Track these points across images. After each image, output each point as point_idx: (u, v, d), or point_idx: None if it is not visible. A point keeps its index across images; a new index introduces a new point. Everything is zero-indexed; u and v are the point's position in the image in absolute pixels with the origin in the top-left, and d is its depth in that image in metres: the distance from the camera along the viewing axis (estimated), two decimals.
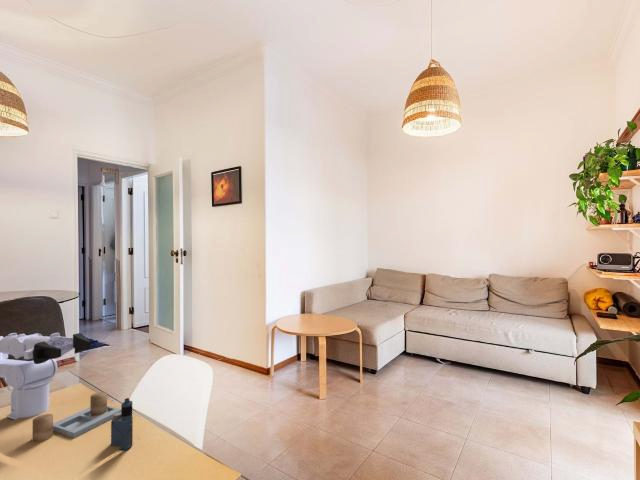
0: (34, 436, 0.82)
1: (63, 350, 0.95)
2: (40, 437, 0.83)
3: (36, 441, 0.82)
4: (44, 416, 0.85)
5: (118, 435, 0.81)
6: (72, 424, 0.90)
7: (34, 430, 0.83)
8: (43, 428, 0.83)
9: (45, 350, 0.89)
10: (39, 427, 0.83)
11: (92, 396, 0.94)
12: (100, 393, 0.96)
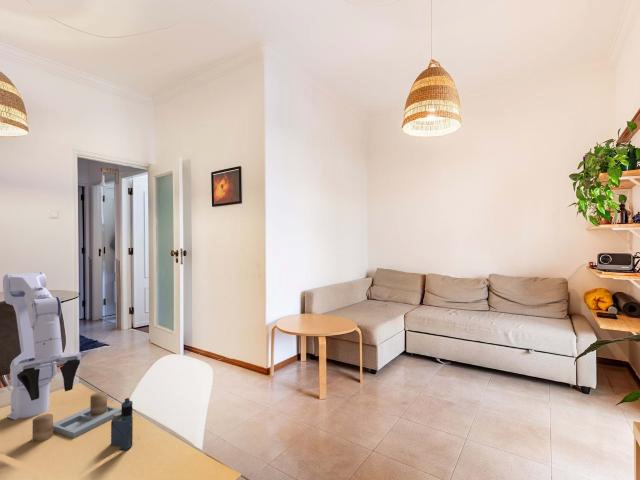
0: (34, 436, 0.82)
1: (54, 361, 0.89)
2: (40, 437, 0.83)
3: (36, 441, 0.82)
4: (44, 416, 0.85)
5: (118, 435, 0.81)
6: (72, 424, 0.90)
7: (34, 430, 0.83)
8: (43, 428, 0.83)
9: None
10: (39, 427, 0.83)
11: (92, 396, 0.94)
12: (100, 393, 0.96)
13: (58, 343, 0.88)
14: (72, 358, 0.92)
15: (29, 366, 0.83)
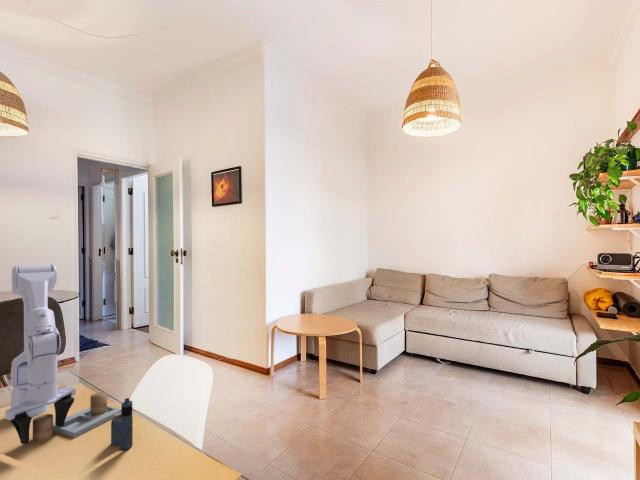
0: (34, 436, 0.82)
1: None
2: (40, 437, 0.83)
3: (36, 441, 0.82)
4: (44, 416, 0.85)
5: (118, 435, 0.81)
6: (72, 424, 0.90)
7: (34, 430, 0.83)
8: (43, 428, 0.83)
9: None
10: (39, 427, 0.83)
11: (92, 396, 0.94)
12: (100, 393, 0.96)
13: (53, 385, 0.84)
14: None
15: None
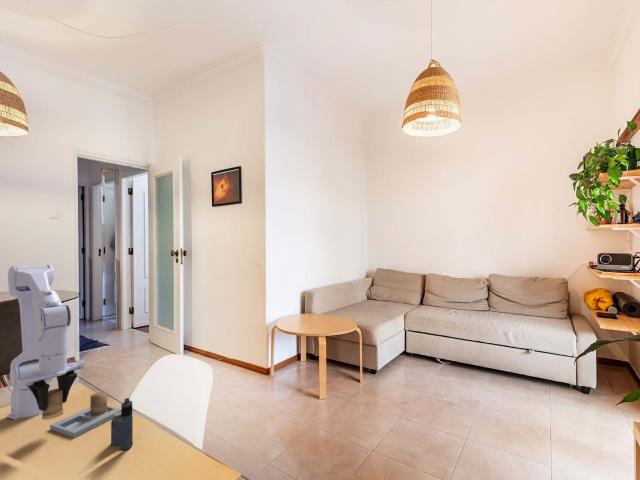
0: None
1: None
2: (50, 410, 0.84)
3: (46, 414, 0.84)
4: (54, 390, 0.87)
5: (118, 435, 0.81)
6: (72, 424, 0.90)
7: None
8: (53, 401, 0.84)
9: None
10: (49, 400, 0.84)
11: (92, 396, 0.94)
12: (100, 393, 0.96)
13: (63, 357, 0.86)
14: (76, 367, 0.91)
15: (32, 381, 0.82)
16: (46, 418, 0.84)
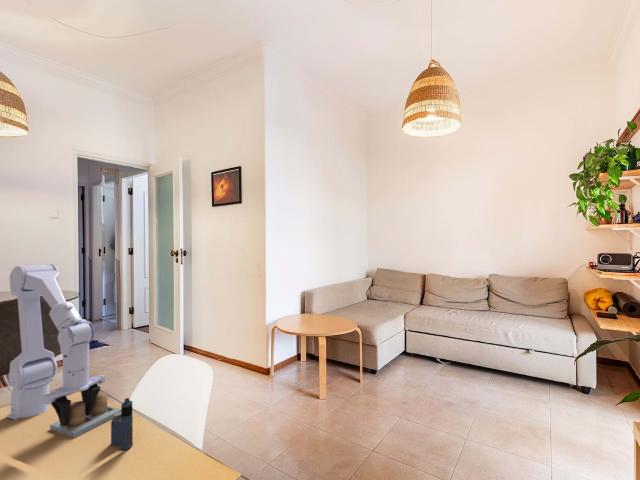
0: (69, 421, 0.87)
1: None
2: (74, 422, 0.88)
3: (70, 426, 0.87)
4: (77, 403, 0.90)
5: (118, 435, 0.81)
6: None
7: (69, 416, 0.87)
8: (77, 414, 0.88)
9: None
10: (73, 413, 0.88)
11: None
12: (101, 393, 0.96)
13: (86, 373, 0.89)
14: (96, 381, 0.94)
15: None
16: None
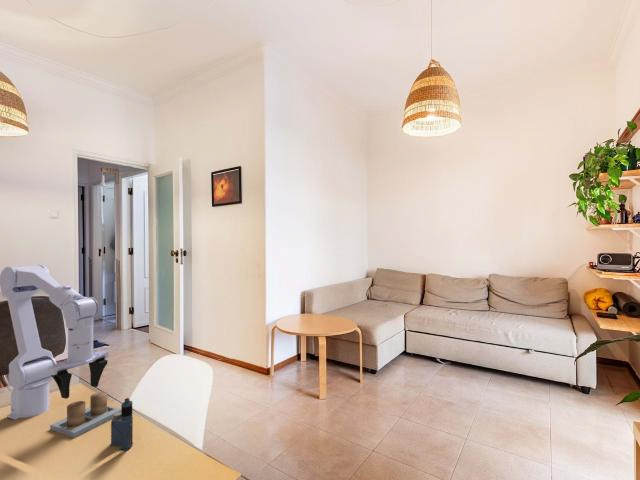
0: (69, 421, 0.87)
1: None
2: (74, 422, 0.88)
3: (70, 426, 0.87)
4: (77, 403, 0.90)
5: (118, 435, 0.81)
6: None
7: (69, 416, 0.87)
8: (77, 414, 0.88)
9: None
10: (73, 413, 0.88)
11: (92, 396, 0.94)
12: (100, 393, 0.96)
13: (90, 347, 0.92)
14: (100, 356, 0.97)
15: (62, 368, 0.87)
16: None
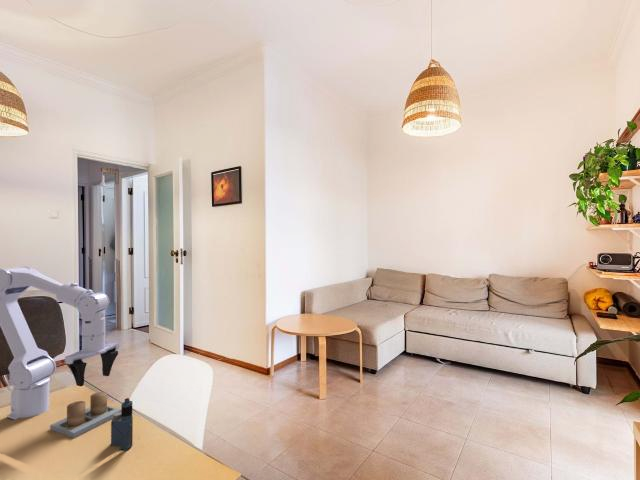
0: (69, 421, 0.87)
1: None
2: (74, 422, 0.88)
3: (70, 426, 0.87)
4: (77, 403, 0.90)
5: (118, 435, 0.81)
6: None
7: (69, 416, 0.87)
8: (77, 414, 0.88)
9: None
10: (73, 413, 0.88)
11: (92, 396, 0.94)
12: (100, 393, 0.96)
13: (103, 338, 0.98)
14: (111, 347, 1.03)
15: (77, 357, 0.94)
16: None
